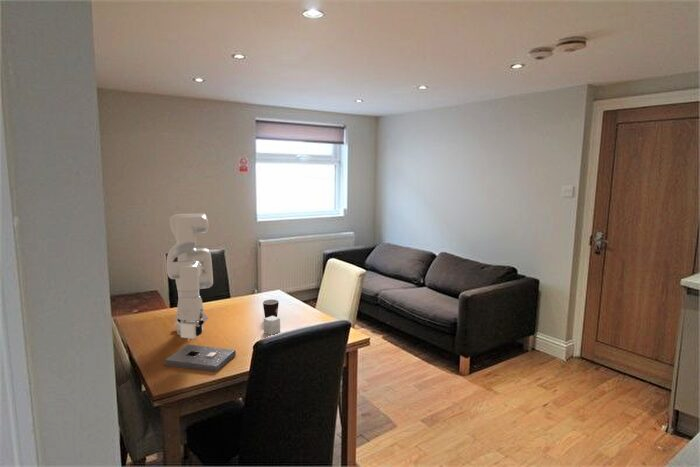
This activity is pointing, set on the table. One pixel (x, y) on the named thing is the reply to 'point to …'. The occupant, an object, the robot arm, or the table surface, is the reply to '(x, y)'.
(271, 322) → the skincare box
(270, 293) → the table surface
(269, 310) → the coffee mug
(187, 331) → the plug
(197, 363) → the socket plate
